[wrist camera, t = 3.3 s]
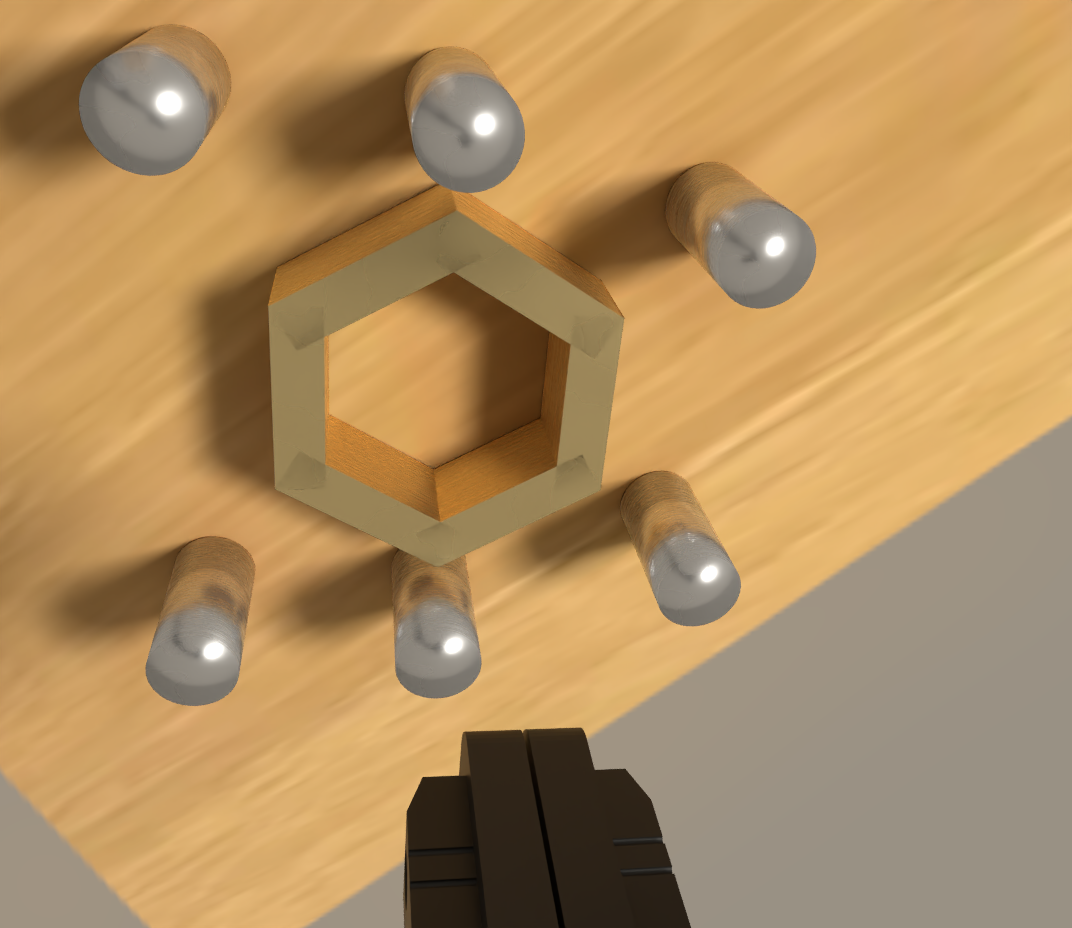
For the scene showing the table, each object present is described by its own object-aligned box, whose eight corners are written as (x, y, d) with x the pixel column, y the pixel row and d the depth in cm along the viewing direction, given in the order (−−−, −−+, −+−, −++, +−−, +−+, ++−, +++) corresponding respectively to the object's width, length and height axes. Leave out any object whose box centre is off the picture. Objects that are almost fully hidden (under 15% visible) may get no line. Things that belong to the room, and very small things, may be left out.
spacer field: (177, 601, 27) (149, 707, 23) (122, 20, 20) (71, 46, 16) (675, 594, 29) (717, 689, 25) (774, 71, 22) (850, 105, 19)
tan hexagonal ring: (284, 512, 26) (277, 569, 24) (273, 169, 22) (263, 200, 20) (572, 512, 27) (590, 566, 25) (612, 188, 23) (638, 219, 21)
